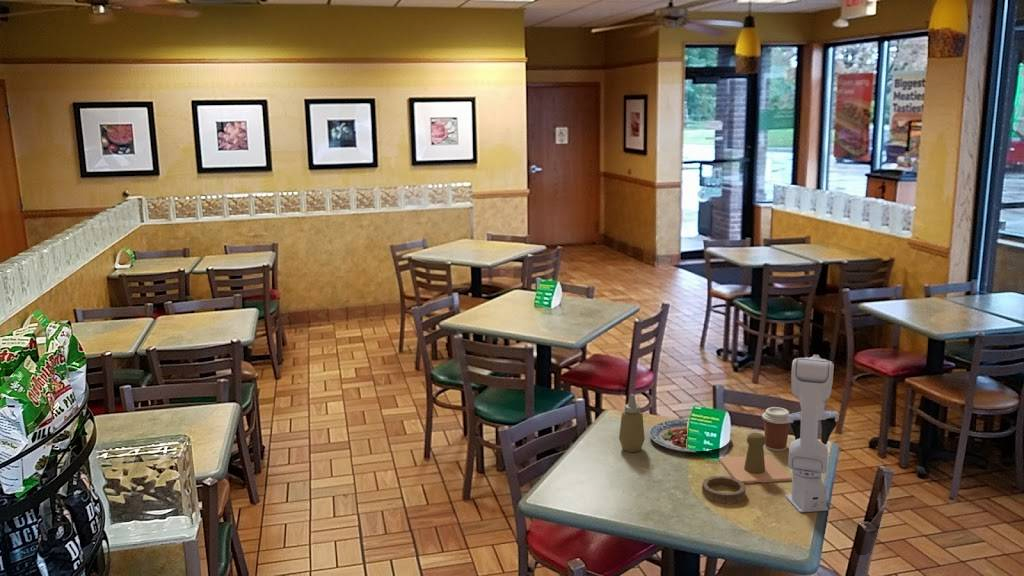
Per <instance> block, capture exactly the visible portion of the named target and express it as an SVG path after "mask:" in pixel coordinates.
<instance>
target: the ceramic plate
mask: <svg viewBox="0 0 1024 576" xmlns="http://www.w3.org/2000/svg"><path fill="white" fill-rule="evenodd" d="M688 419H689V418H688ZM688 419H687V418H685V419H679V418H678V419H670V420H665V421H661V422H658V423H657V424H654V425H653V426H652V427H651V428H650V429H649V432H648V434H649V437H650V439H651V440H652V441H653V442H654V443H655V444H658V445H659V446H660V447H661V446H662V447H664V448H666V449H671V450H675V451H679V452H689V453H697V452H696V451H694V450H690V449H686V439H687V421H688ZM731 439H732V437H730V441H729V443H730V442H731Z"/></svg>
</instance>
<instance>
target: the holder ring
mask: <svg viewBox="0 0 1024 576" xmlns="http://www.w3.org/2000/svg"><path fill="white" fill-rule="evenodd" d="M713 487H726V488H731V489H734V490H736V491H734V492H733V491H732V492H723V491H717V490H714V489H712V488H713ZM746 487H747V486H746V485H745V484H743V483H742V482H741V481H739V480H737V479H735V478H733V477H732V476H731V477H730V476H726V475H713V476H710V477H707V478H705V479H704V480H703V482H702V484H701V493H702V495H703V496H704V498H706V499H708V500H710V501H712V502H714V503H721V504H737V503H739V502H741V501H744V499H745V496H746Z"/></svg>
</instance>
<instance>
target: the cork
mask: <svg viewBox="0 0 1024 576" xmlns="http://www.w3.org/2000/svg"><path fill="white" fill-rule="evenodd" d="M746 443H747V444H748V447H747V451H746V455H745V456H746V461H745V466H744V469H745V471H747V472H749V473H753V474H761V473H764V472H765V461H764V455H765V452H764V446H765V434H762V433H759V432H751V433H749V434H748V435H747V437H746Z"/></svg>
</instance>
